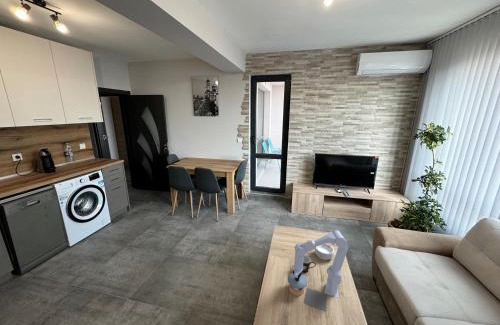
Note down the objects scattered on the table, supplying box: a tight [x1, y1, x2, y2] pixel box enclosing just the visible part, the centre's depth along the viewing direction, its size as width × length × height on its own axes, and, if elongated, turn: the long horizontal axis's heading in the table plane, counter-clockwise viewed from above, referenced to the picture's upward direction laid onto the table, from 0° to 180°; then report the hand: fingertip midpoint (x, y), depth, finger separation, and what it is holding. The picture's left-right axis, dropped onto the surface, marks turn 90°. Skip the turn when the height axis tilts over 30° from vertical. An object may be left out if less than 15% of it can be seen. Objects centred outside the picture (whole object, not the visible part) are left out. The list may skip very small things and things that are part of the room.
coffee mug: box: [301, 254, 317, 274], centre depth 154 cm, size 12×9×10 cm
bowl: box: [288, 283, 305, 297], centre depth 138 cm, size 10×10×4 cm
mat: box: [303, 287, 328, 312], centre depth 131 cm, size 13×13×1 cm
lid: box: [287, 272, 308, 289], centre depth 136 cm, size 13×13×4 cm
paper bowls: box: [314, 243, 335, 261], centre depth 171 cm, size 15×15×8 cm
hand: (297, 278), depth 136 cm, fingers closed on lid, 3 cm apart
